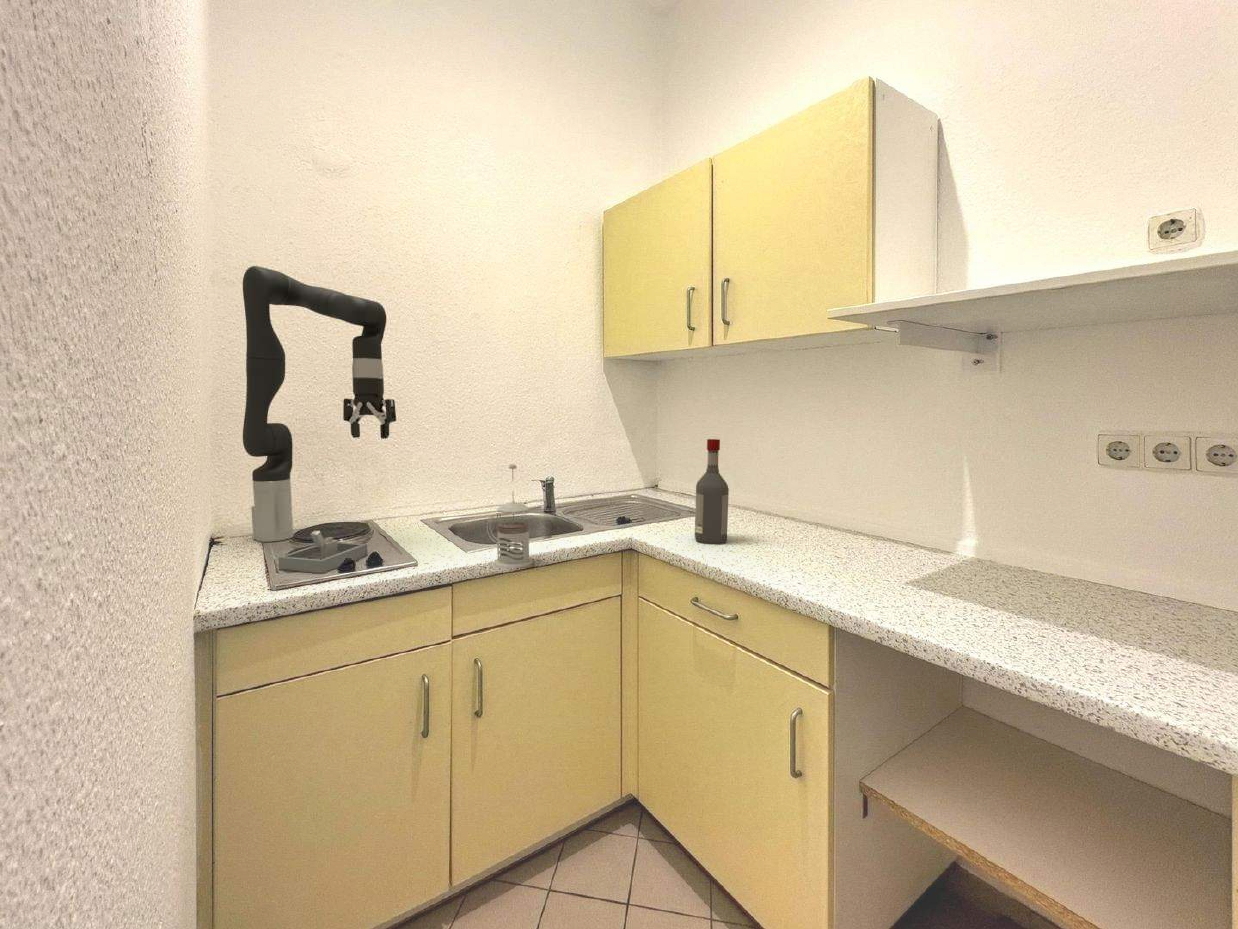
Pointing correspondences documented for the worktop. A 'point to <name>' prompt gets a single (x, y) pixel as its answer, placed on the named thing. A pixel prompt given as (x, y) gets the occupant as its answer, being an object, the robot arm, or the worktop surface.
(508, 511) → the french press
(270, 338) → the robot arm
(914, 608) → the worktop surface
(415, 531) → the worktop surface
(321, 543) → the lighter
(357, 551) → the tray
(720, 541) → the liquor
